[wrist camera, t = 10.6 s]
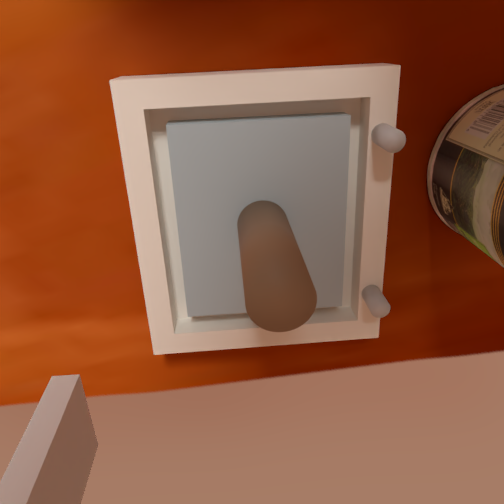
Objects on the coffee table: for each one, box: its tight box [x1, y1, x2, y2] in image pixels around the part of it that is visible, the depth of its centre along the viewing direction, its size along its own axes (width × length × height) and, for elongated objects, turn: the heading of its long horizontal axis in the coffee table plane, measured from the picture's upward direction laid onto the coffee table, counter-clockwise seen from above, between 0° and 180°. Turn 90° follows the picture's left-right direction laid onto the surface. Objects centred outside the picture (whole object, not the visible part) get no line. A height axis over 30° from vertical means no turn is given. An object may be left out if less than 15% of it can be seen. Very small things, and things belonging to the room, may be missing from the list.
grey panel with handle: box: [166, 112, 351, 332], centre depth 24 cm, size 12×10×11 cm
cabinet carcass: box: [109, 63, 406, 355], centre depth 28 cm, size 17×15×5 cm
